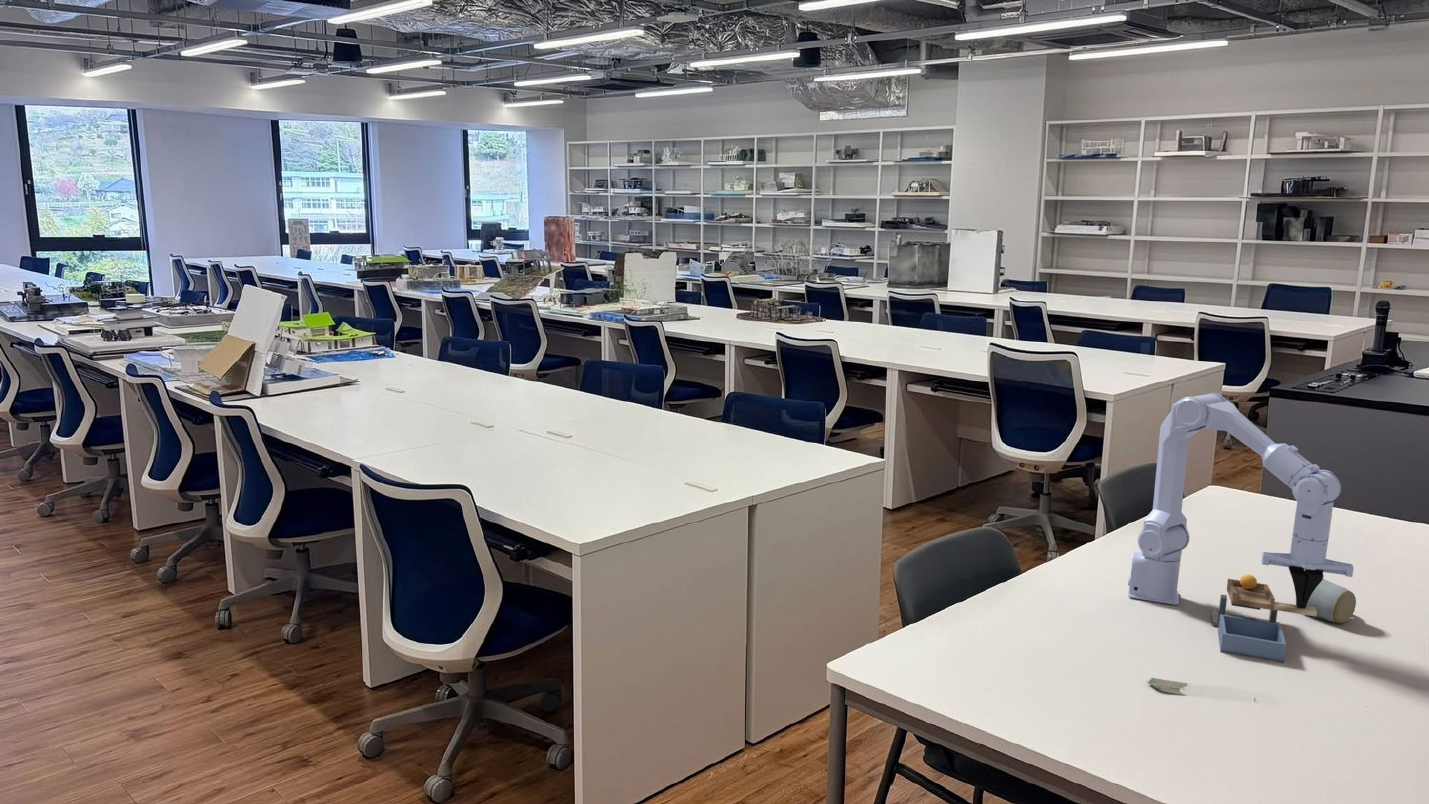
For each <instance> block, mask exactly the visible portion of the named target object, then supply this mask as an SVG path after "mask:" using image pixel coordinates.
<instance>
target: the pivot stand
mask: <svg viewBox="0 0 1429 804" xmlns="http://www.w3.org/2000/svg"><path fill="white" fill-rule="evenodd" d="M1227 603H1228V596H1227V594H1223V593H1221V594H1220V598H1219V606H1218V611H1211V612H1210V614H1211V615H1210V618H1211V626H1212V627H1217V628H1218V627H1219V619H1220V614H1222V615H1228V616H1234V617H1241V618H1247V619H1253V620H1259V621H1265V622H1271V623H1278V624H1281V623H1280V621H1277V619H1278V618H1277V617H1278V610H1269V617H1268V619H1262V618H1255V617H1249V616H1243V615H1236V614H1230V613H1226V610H1227Z"/></svg>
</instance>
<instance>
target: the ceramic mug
mask: <svg viewBox="0 0 1429 804" xmlns="http://www.w3.org/2000/svg"><path fill="white" fill-rule="evenodd" d="M1355 595H1356V594H1355V593H1354V592H1353V591H1351V590H1349V589H1348V588H1346V587H1344V586H1342V585H1339V584H1336V583H1334V582H1332V581H1329V580H1326V579H1325V578H1323V580H1322V581H1321V583H1320V584H1319V585H1318V586H1317V587H1316V589H1315V590H1314V591H1313V593H1312V595H1311V596H1310V598H1309V600H1308V603H1307V605H1306V607H1313V608H1315V609H1316V611H1317V615H1316V616H1315V617H1317V618H1320V619H1323V620H1325V621H1328V622H1330V623H1334V624H1344V623H1345V622H1348V621H1349V620H1350V618H1352V616H1353V615H1354V612H1355V611H1356V606H1357V598H1356V596H1355Z"/></svg>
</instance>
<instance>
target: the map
mask: <svg viewBox="0 0 1429 804" xmlns="http://www.w3.org/2000/svg"><path fill="white" fill-rule="evenodd" d="M1146 683H1148V684H1149V685H1151V686H1153V687H1154V688H1155V689H1157V690H1159V691H1162V692H1166V693H1170V694H1175V695H1181V696H1187V695H1186V694H1185V693H1183V692H1181V689H1183V690H1184V689H1185V687H1188V685H1190V683H1188V682H1180V681H1174V680H1168V679H1163V678H1162V679H1161V678H1156V677H1150V678H1149V680H1148V681H1146ZM1253 702H1256V698H1254V700H1253Z"/></svg>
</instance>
